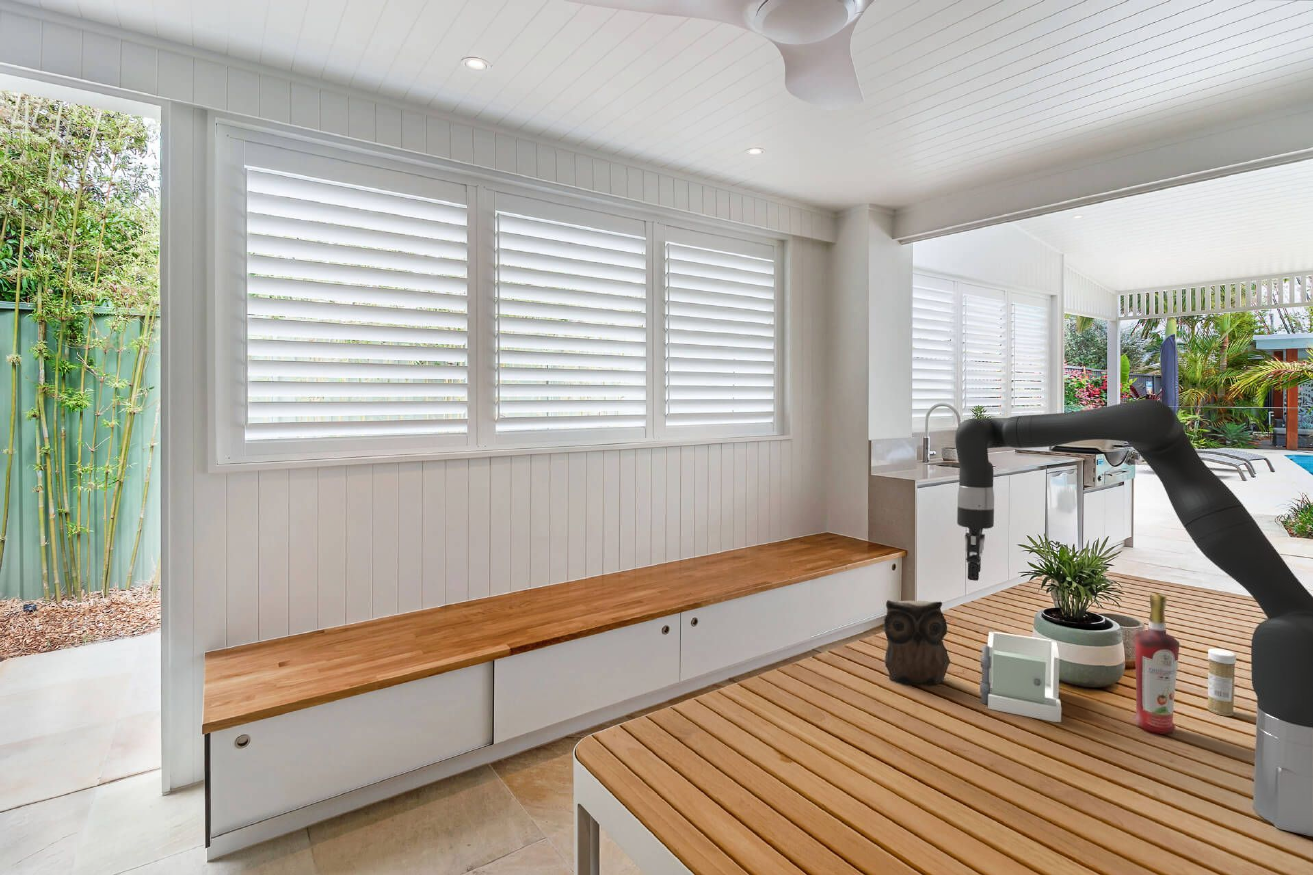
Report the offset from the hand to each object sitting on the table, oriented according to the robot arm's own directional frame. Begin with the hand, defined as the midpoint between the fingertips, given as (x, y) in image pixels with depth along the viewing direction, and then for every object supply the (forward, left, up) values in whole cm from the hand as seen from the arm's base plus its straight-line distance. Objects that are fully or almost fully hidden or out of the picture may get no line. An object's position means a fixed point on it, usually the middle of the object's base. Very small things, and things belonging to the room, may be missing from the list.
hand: (974, 575), depth 148 cm
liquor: (+1, -34, -28) cm, 44 cm away
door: (-3, -9, -28) cm, 30 cm away
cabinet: (+3, -10, -28) cm, 30 cm away
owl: (+5, +13, -28) cm, 32 cm away
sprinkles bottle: (+17, -48, -28) cm, 58 cm away
